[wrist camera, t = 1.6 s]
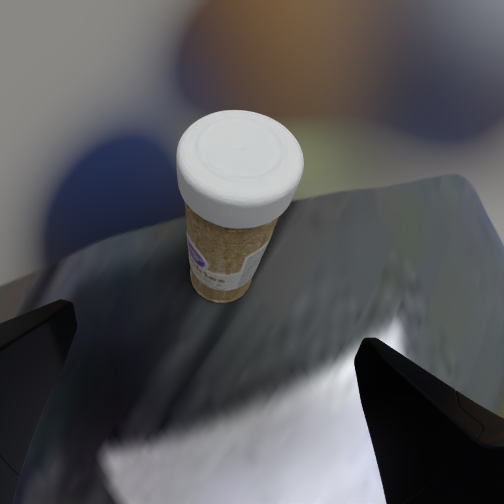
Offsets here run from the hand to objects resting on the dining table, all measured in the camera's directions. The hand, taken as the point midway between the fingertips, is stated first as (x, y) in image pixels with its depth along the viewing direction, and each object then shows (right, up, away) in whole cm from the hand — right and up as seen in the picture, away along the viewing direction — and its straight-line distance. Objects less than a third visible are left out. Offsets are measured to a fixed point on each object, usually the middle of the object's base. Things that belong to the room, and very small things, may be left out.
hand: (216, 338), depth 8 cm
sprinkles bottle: (-1, +1, +14) cm, 14 cm away
